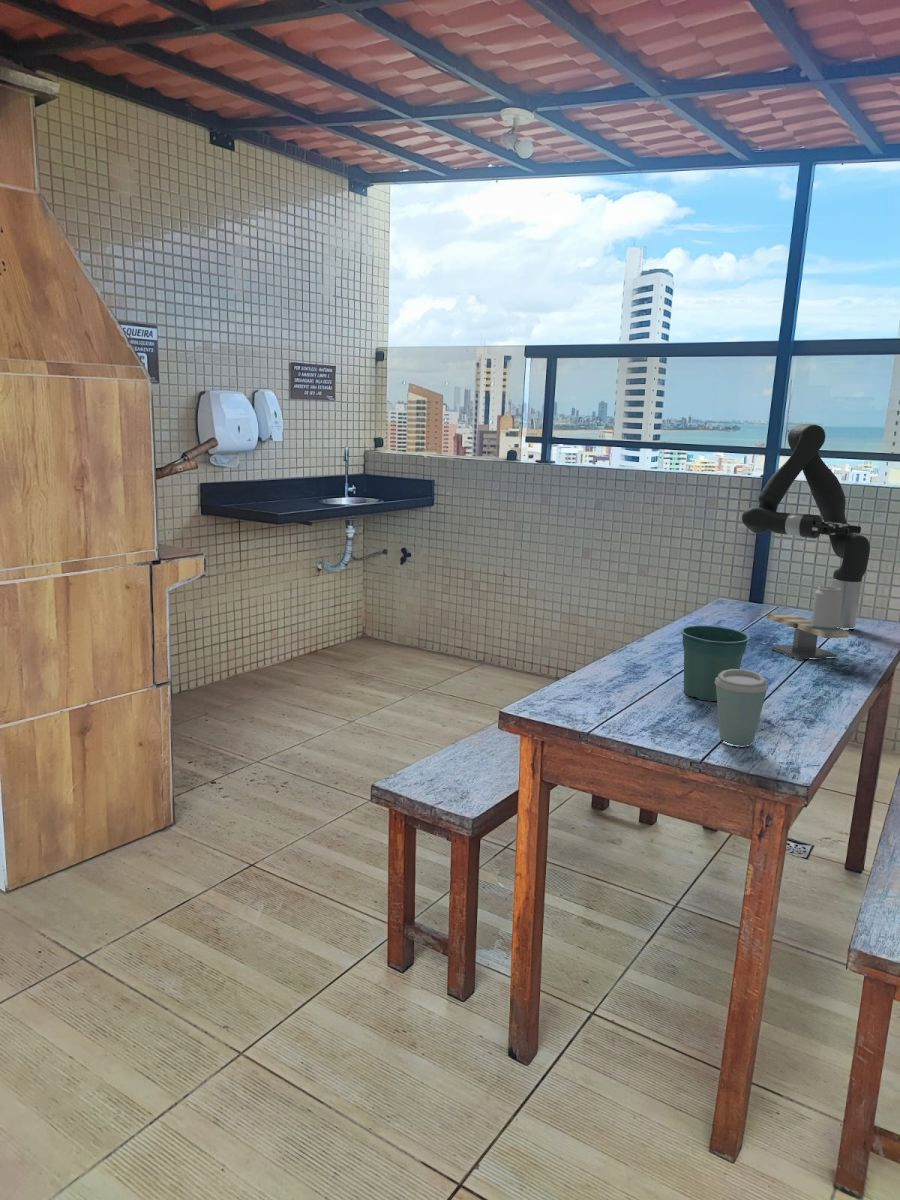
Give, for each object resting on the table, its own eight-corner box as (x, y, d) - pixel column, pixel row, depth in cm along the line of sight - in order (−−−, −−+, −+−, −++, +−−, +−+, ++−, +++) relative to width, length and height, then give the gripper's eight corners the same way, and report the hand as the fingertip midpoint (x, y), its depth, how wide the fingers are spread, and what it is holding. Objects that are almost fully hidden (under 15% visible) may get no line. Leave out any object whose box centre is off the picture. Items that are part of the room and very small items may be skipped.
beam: (764, 618, 266) (765, 613, 266) (790, 617, 269) (790, 612, 268) (823, 638, 242) (824, 632, 241) (850, 637, 244) (851, 631, 244)
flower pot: (729, 710, 200) (737, 645, 196) (664, 695, 209) (670, 632, 206) (751, 695, 213) (759, 633, 209) (689, 681, 222) (695, 622, 219)
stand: (771, 649, 260) (774, 625, 258) (808, 648, 264) (811, 623, 262) (797, 660, 249) (801, 634, 247) (836, 658, 253) (840, 633, 251)
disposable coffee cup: (760, 755, 172) (769, 685, 169) (705, 746, 176) (713, 677, 173) (761, 738, 182) (770, 672, 179) (710, 730, 185) (717, 665, 182)
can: (842, 631, 244) (848, 590, 242) (816, 629, 244) (822, 589, 242) (831, 625, 251) (837, 585, 249) (806, 624, 251) (811, 584, 249)
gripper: (794, 515, 265) (846, 520, 253) (815, 512, 274) (865, 517, 263) (791, 538, 267) (843, 544, 255) (812, 535, 276) (862, 541, 264)
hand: (854, 530), depth 259 cm, fingers open, 8 cm apart
